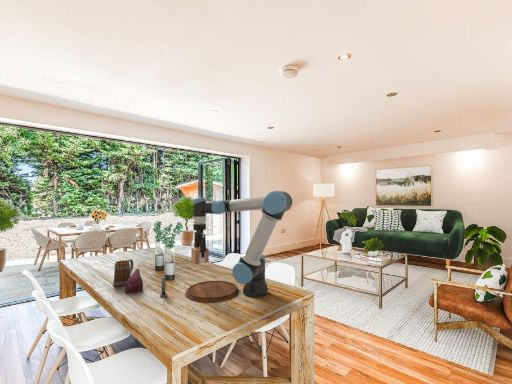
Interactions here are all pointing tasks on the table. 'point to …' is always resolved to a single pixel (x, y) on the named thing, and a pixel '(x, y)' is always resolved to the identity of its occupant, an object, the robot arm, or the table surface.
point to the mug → (122, 272)
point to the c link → (198, 255)
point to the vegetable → (134, 283)
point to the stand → (163, 287)
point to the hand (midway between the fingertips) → (200, 261)
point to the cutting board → (211, 291)
